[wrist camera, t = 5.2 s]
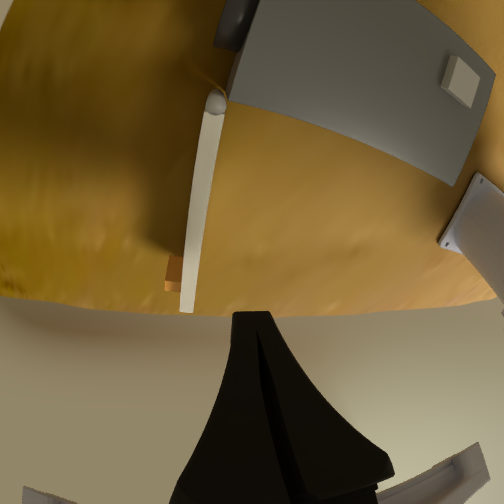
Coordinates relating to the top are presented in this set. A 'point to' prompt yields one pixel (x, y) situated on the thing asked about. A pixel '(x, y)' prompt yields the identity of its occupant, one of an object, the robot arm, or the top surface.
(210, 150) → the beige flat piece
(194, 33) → the top surface
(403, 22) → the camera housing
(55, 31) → the top surface
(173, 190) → the top surface
